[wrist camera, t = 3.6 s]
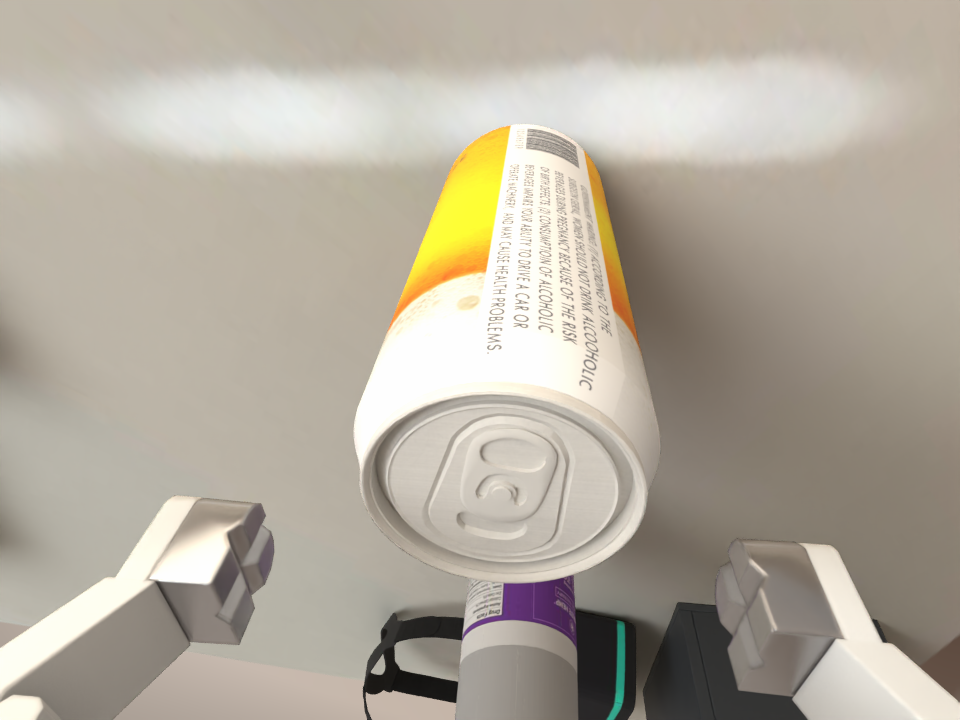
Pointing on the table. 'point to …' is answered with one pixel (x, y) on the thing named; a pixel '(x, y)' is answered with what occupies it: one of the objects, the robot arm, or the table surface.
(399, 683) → the virtual reality headset
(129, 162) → the table surface
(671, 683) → the trash bin
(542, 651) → the container
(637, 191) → the table surface
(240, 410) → the table surface
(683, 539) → the table surface
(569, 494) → the beer can
